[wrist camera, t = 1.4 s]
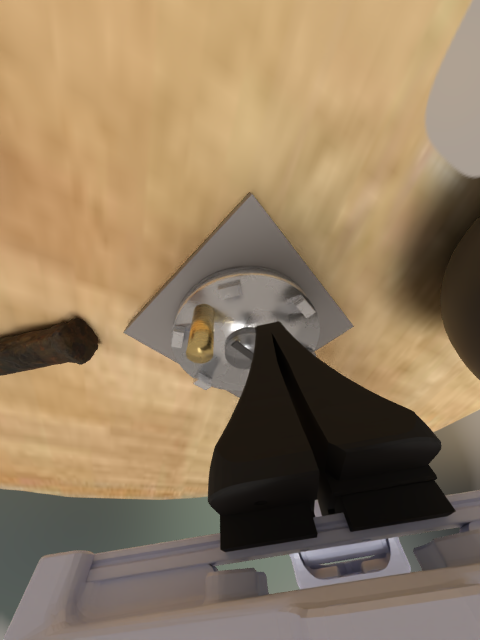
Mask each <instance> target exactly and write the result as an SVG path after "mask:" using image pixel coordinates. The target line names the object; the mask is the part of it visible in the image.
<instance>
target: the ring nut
mask: <svg viewBox="0 0 480 640" xmlns="http://www.w3.org/2000/svg"><path fill="white" fill-rule="evenodd" d="M278 321H279V322H281V323H282V325H283V326H284V327H285V328H286V329H287V330H288V331H289V332H290V333H291V335H292V336H293V337H294V338H295V339H296V340H298V341H299V342H300V343H301V344H302V345H303V346H304V347H305V348H306V349H307V350H309V351H310V352H311V353H312V354H313V355H315V356H316V354H315V352H314V350H315V348H316V345H317V343H318V339H319V334H320V323H319V318H318V314H317V312H316V310H315V308H314V306H313V304H312V303H311V302H310V300H309V299H308V297H307V296H306V295H305V293H304V292H303V291H302V289H301V288H300V287H299V286H298V285H297V284H296V283H295V282H294V281H293V280H291V279H290V278H289V277H287V276H285V275H283V274H281V273H279V272H277V271H274V270H271V269H267V268H262V267H253V266H244V267H234V268H229V269H225V270H222V271H219V272H216V273H214V274H212V275H210V276H208V277H206V278H205V279H203V280H202V281H200V282H199V283H197V284H196V285H195V286H194V287H193V288H192V289H191V290H190V291H189V292H188V293H187V294H186V296H185V297H184V299H183V300H182V302H181V304H180V306H179V309H178V311H177V314H176V318H175V321H174V324H173V328H172V333H171V343H172V344H171V347H172V349H173V353H174V355H175V357H176V359H177V361H178V363H179V364H180V366H181V367H182V368H183V369H184V370H185V371H186V372H187V373H188V374H189V375H190V376H192V377H193V378H194V380H193V384H195V385H197V386H199V387H201V388H202V389H204V390H207V389H209V388H210V387H211V386H212V387H215V388H219V389H224V390H234V391H243V389H244V386H245V384H246V381H247V378H248V374H249V371H250V367H251V363H252V359H253V354H254V347H255V337H256V333H255V327H256V326H259V325H263V324H268V323H273V322H278Z"/></svg>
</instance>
